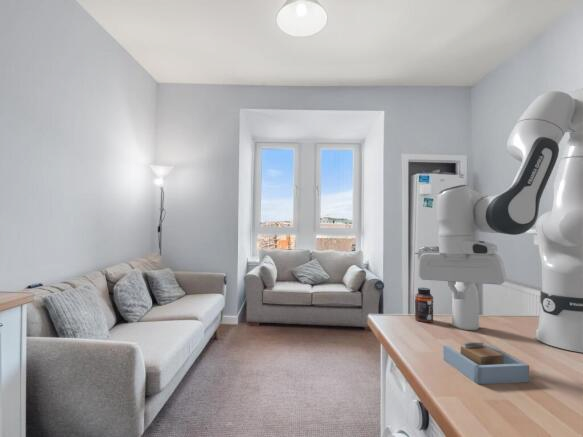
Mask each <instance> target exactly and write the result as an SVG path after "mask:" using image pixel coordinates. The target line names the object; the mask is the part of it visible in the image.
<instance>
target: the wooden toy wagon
mask: <svg viewBox="0 0 583 437" xmlns="http://www.w3.org/2000/svg"><path fill="white" fill-rule="evenodd" d="M460 354H462V355H463V356H465V357H466V358H468V359H470V360H471V361H473V362H474V363H476V364H478V365H495V364H504V355H502V354H500V353H498V352H496V351H494V350H492V349H490V348H487V347H485V346H484V341H478V340H477V341H469V342H468V341H467V342H465V341H464V342H462V346H461V345H460Z"/></svg>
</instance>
